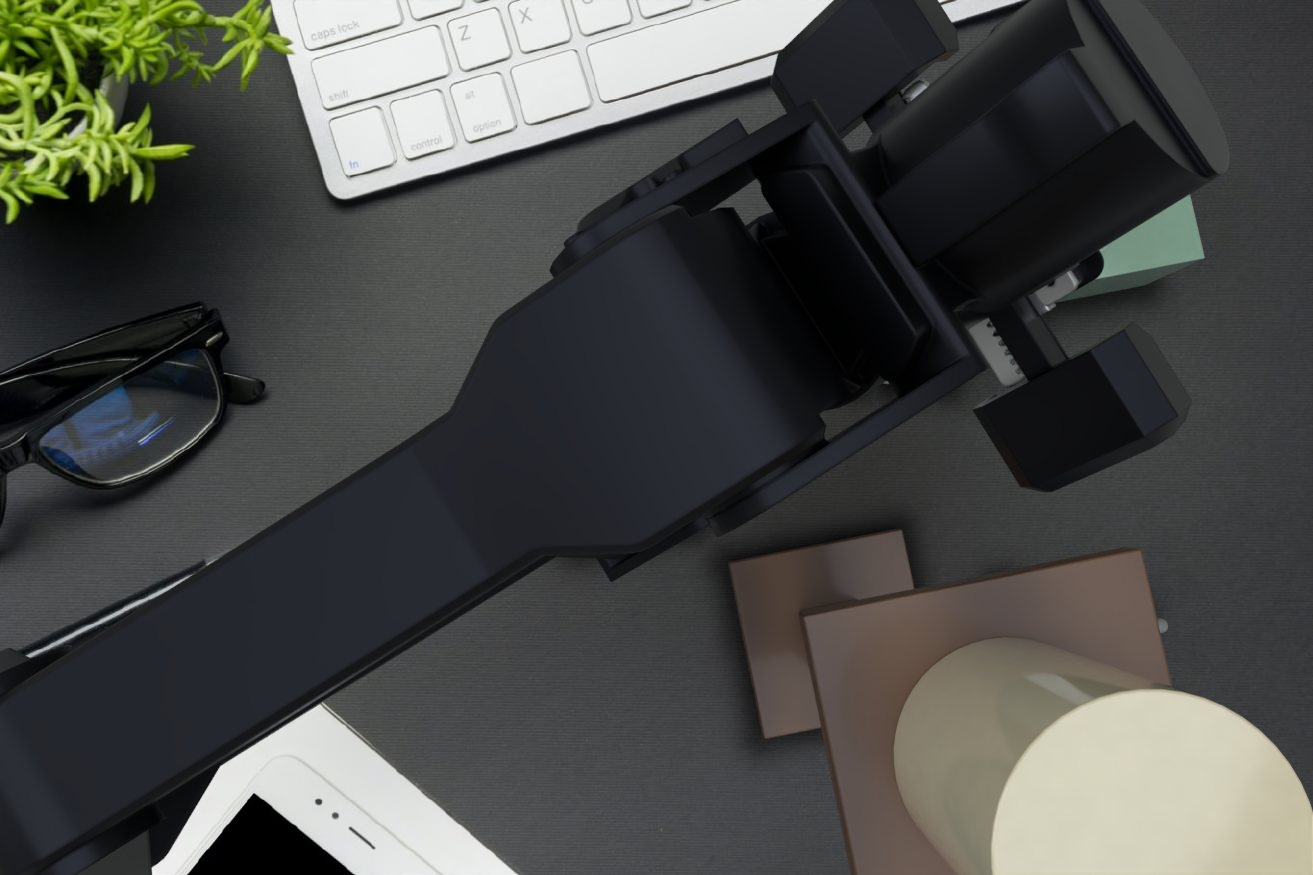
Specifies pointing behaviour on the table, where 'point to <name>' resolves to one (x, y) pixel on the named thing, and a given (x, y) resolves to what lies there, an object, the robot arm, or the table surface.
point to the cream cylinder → (1090, 772)
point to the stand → (911, 656)
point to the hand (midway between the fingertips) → (1049, 198)
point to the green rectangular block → (1148, 252)
